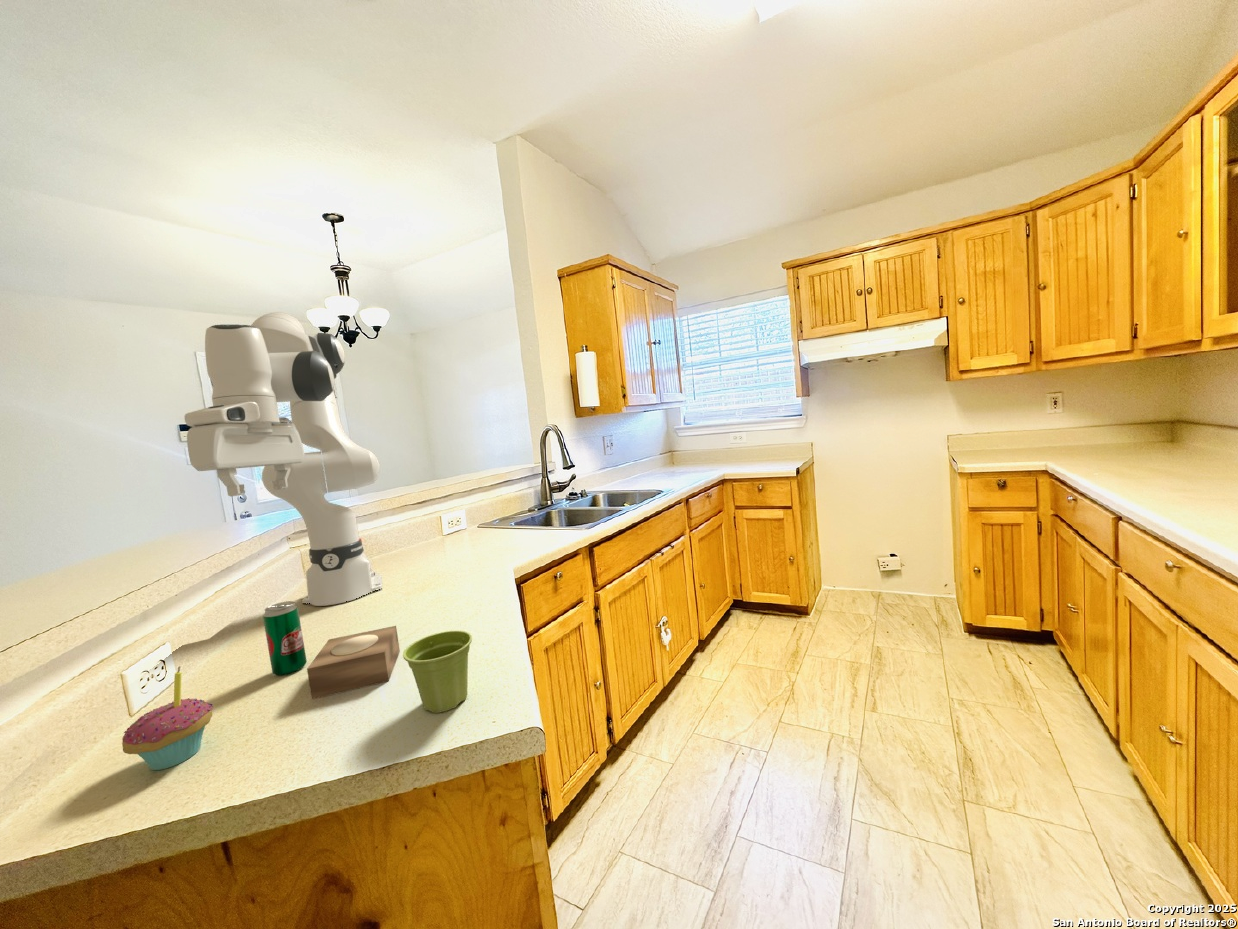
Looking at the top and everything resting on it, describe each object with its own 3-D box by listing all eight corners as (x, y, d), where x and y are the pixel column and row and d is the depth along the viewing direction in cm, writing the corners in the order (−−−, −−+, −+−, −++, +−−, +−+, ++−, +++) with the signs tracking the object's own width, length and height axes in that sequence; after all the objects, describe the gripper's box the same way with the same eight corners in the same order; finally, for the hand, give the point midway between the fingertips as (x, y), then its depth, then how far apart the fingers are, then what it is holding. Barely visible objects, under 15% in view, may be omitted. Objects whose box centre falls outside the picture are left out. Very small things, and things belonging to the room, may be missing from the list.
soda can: (289, 678, 79) (277, 611, 78) (265, 677, 80) (254, 611, 79) (314, 662, 83) (303, 599, 82) (291, 662, 85) (281, 600, 84)
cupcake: (226, 727, 66) (211, 648, 65) (206, 763, 58) (189, 674, 57) (145, 753, 62) (128, 668, 61) (113, 794, 54) (93, 699, 53)
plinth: (333, 666, 81) (328, 638, 81) (399, 651, 85) (395, 624, 84) (311, 699, 71) (306, 667, 70) (388, 681, 74) (384, 650, 74)
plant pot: (413, 694, 70) (405, 639, 69) (477, 676, 73) (470, 624, 72) (408, 729, 61) (399, 668, 60) (481, 708, 64) (473, 649, 63)
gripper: (277, 419, 91) (288, 487, 92) (173, 414, 71) (187, 502, 71) (307, 416, 91) (318, 484, 91) (211, 410, 70) (225, 497, 71)
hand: (260, 492), depth 81 cm, fingers open, 8 cm apart
